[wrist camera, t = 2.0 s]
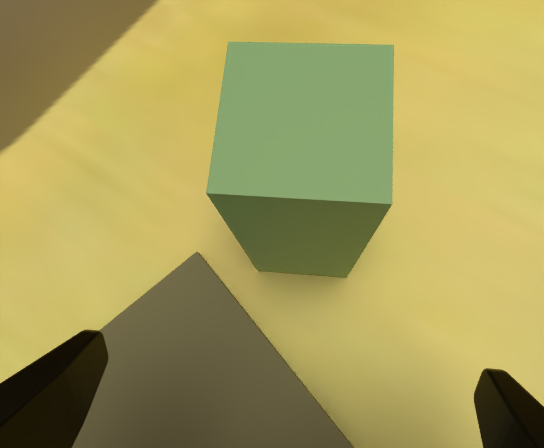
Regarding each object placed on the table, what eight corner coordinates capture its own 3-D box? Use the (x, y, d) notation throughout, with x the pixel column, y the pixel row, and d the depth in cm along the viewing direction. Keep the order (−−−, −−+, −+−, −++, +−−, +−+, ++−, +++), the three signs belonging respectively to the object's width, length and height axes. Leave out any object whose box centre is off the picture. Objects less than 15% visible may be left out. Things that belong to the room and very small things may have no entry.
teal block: (349, 193, 24) (393, 44, 12) (346, 277, 23) (391, 204, 11) (266, 188, 24) (228, 41, 12) (257, 270, 23) (206, 193, 11)
